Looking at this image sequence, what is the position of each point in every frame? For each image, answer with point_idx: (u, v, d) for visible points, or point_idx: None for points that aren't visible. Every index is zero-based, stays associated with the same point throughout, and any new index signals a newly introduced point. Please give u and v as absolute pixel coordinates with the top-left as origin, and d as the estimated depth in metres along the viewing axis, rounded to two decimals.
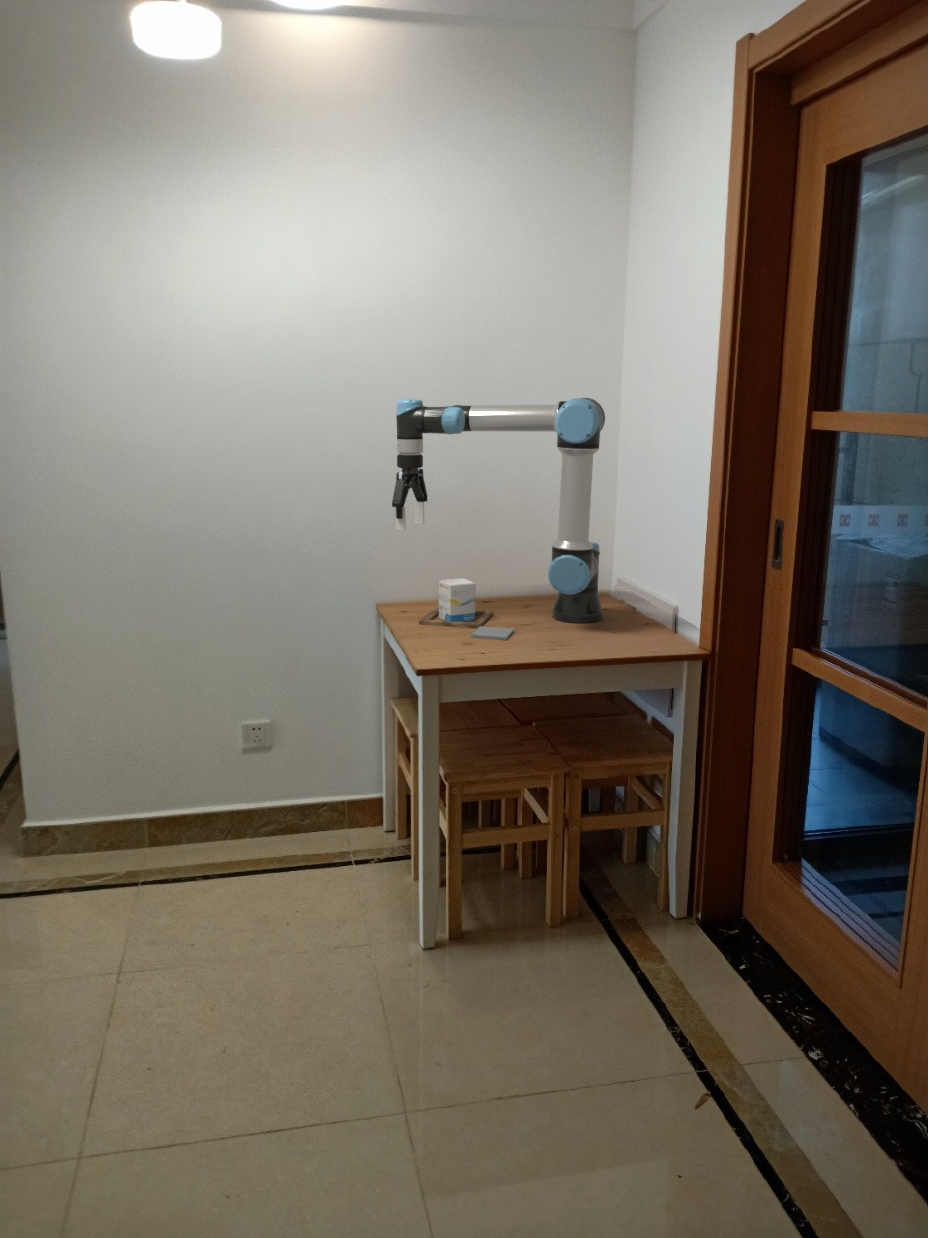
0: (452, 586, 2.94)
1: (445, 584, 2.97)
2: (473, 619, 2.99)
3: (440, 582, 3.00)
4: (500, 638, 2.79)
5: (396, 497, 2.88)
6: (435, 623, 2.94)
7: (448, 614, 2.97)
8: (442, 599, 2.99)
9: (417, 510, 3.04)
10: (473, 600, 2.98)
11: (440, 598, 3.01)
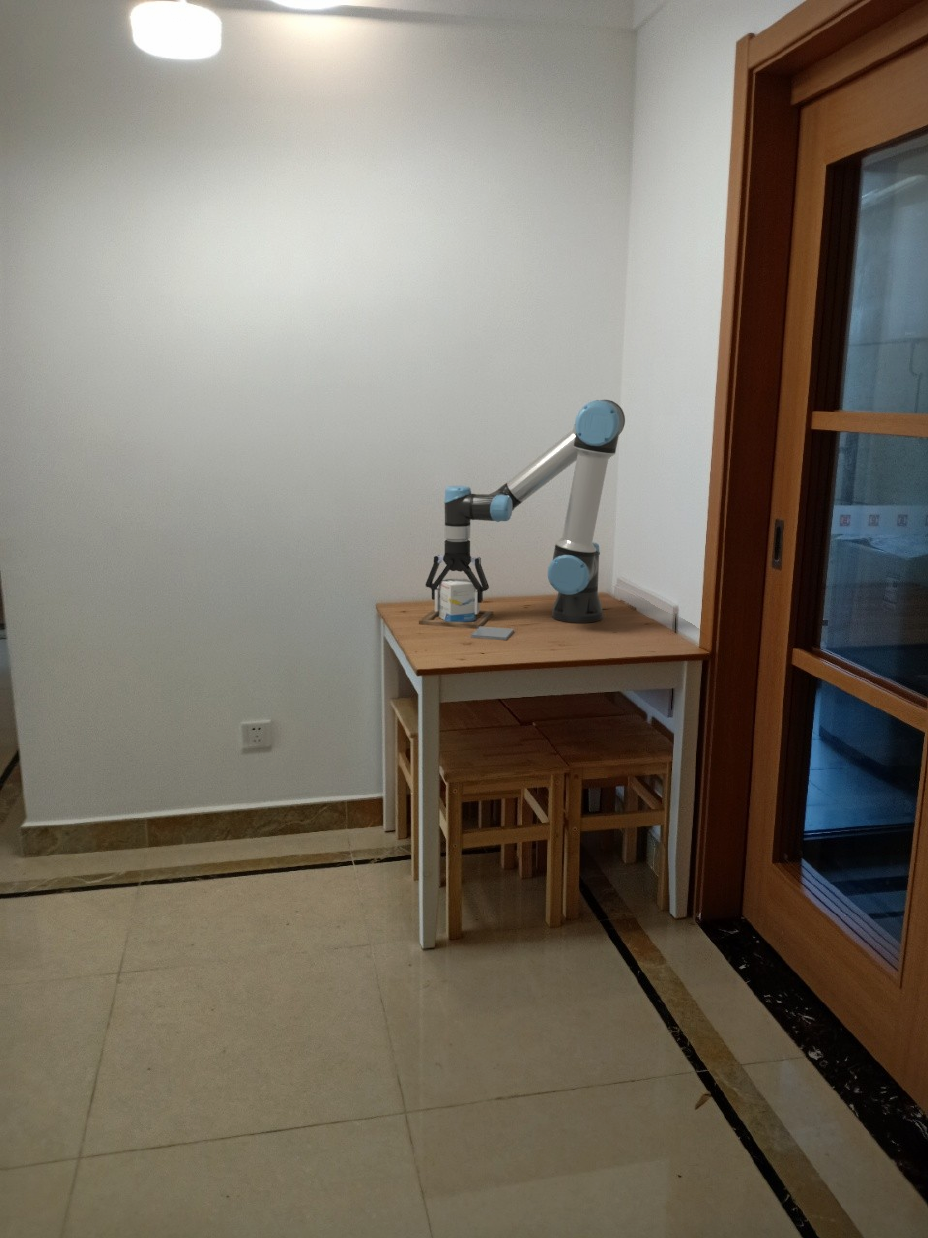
0: (452, 586, 2.94)
1: (445, 584, 2.97)
2: (473, 619, 2.99)
3: (440, 582, 3.00)
4: (500, 638, 2.79)
5: None
6: (435, 623, 2.94)
7: (448, 614, 2.97)
8: (442, 598, 2.99)
9: None
10: (473, 600, 2.98)
11: (440, 598, 3.01)
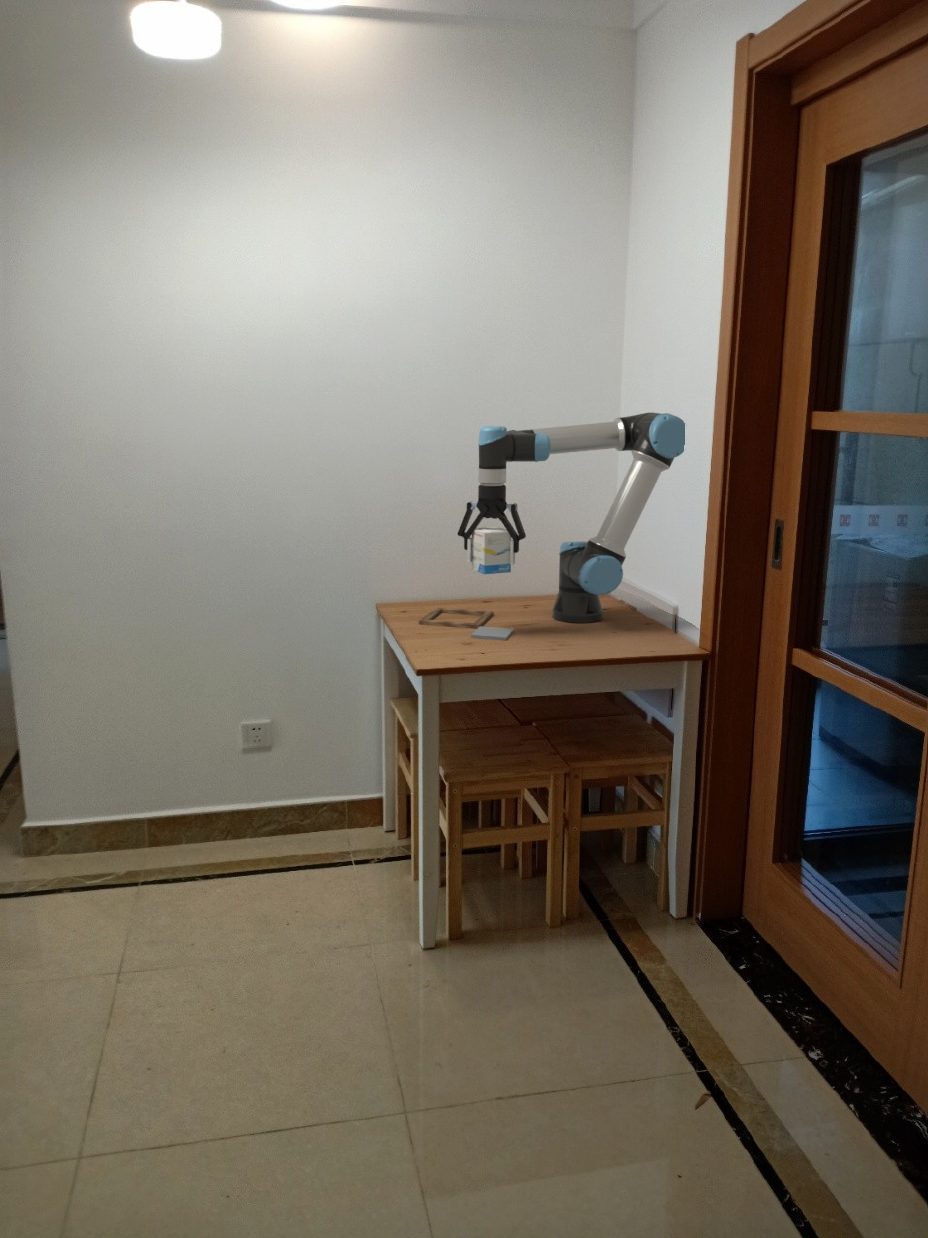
0: (486, 534, 2.74)
1: (479, 532, 2.76)
2: (509, 570, 2.79)
3: (473, 530, 2.80)
4: (500, 638, 2.79)
5: None
6: (435, 623, 2.94)
7: (482, 564, 2.76)
8: (475, 548, 2.79)
9: None
10: (509, 549, 2.77)
11: (473, 548, 2.80)
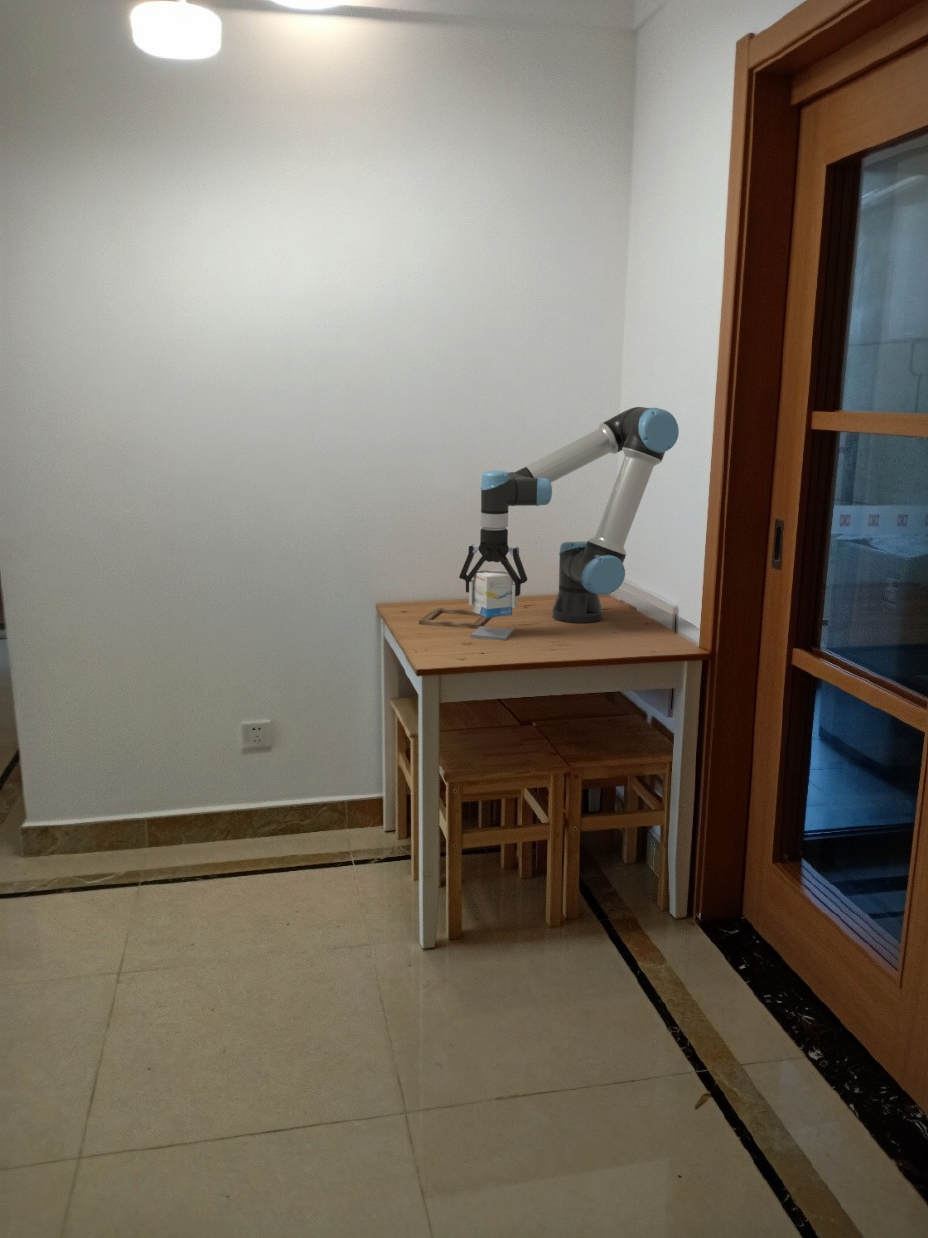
0: (489, 578, 2.75)
1: (481, 575, 2.78)
2: (510, 613, 2.81)
3: (475, 573, 2.81)
4: (500, 638, 2.79)
5: None
6: (435, 623, 2.94)
7: (484, 608, 2.78)
8: (477, 591, 2.81)
9: None
10: (510, 593, 2.79)
11: (475, 591, 2.82)
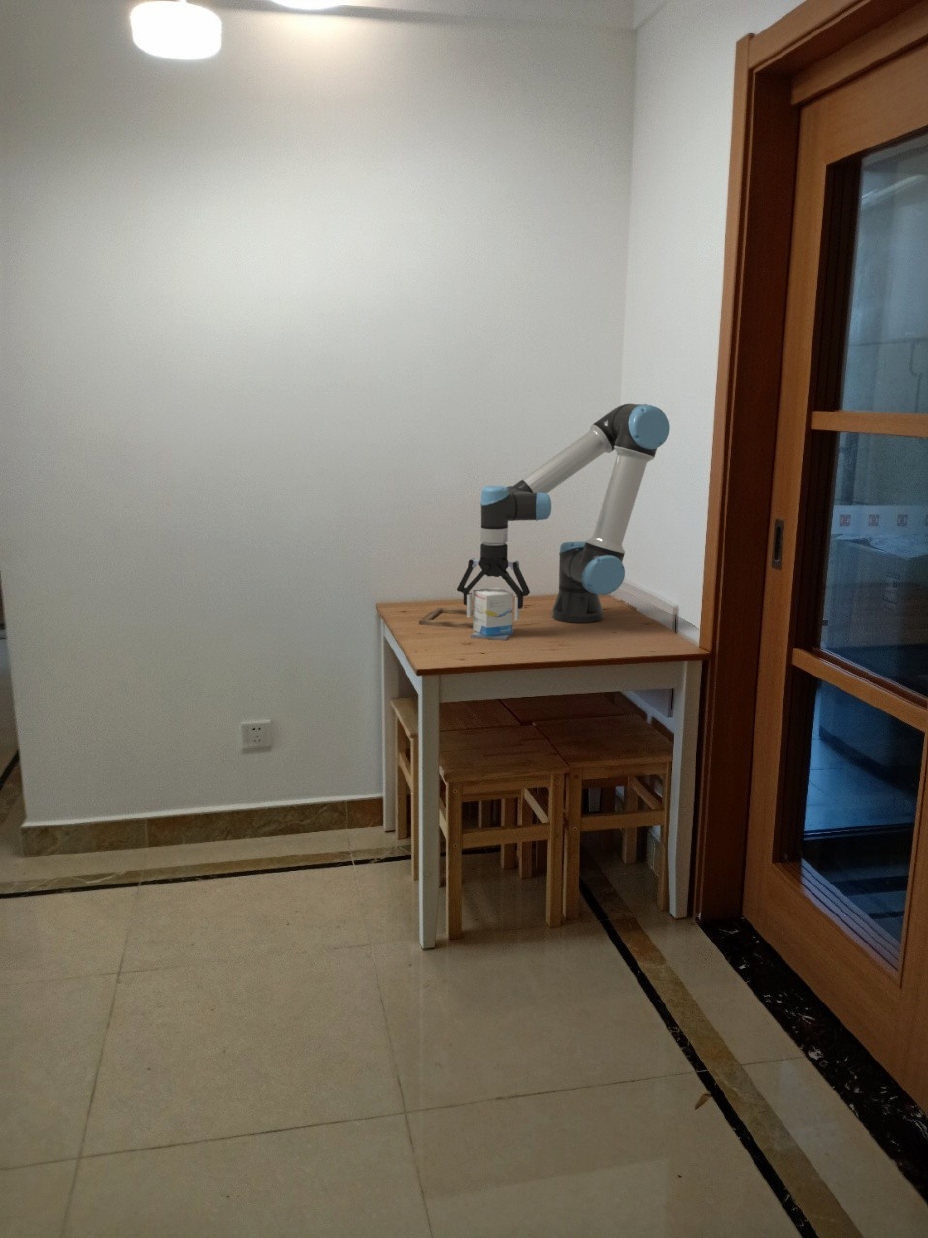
0: (488, 596, 2.77)
1: (481, 594, 2.79)
2: (510, 631, 2.82)
3: (475, 592, 2.83)
4: (500, 638, 2.79)
5: None
6: (435, 623, 2.94)
7: (484, 626, 2.79)
8: (477, 610, 2.82)
9: None
10: (510, 611, 2.80)
11: (475, 609, 2.83)
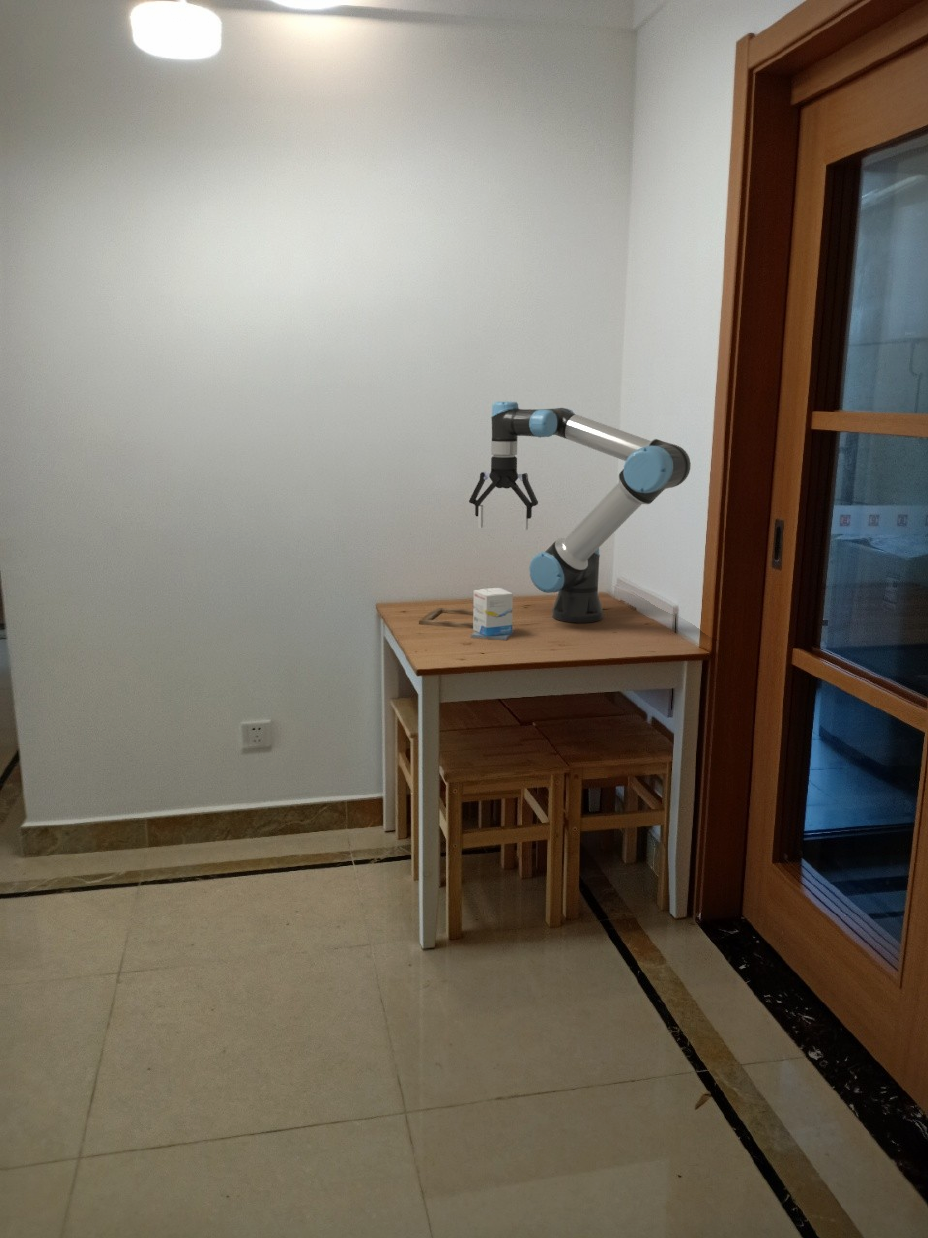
0: (488, 597, 2.77)
1: (481, 594, 2.79)
2: (510, 631, 2.82)
3: (475, 592, 2.83)
4: (500, 638, 2.79)
5: None
6: (435, 623, 2.94)
7: (484, 626, 2.79)
8: (477, 610, 2.82)
9: None
10: (510, 611, 2.80)
11: (475, 609, 2.83)
